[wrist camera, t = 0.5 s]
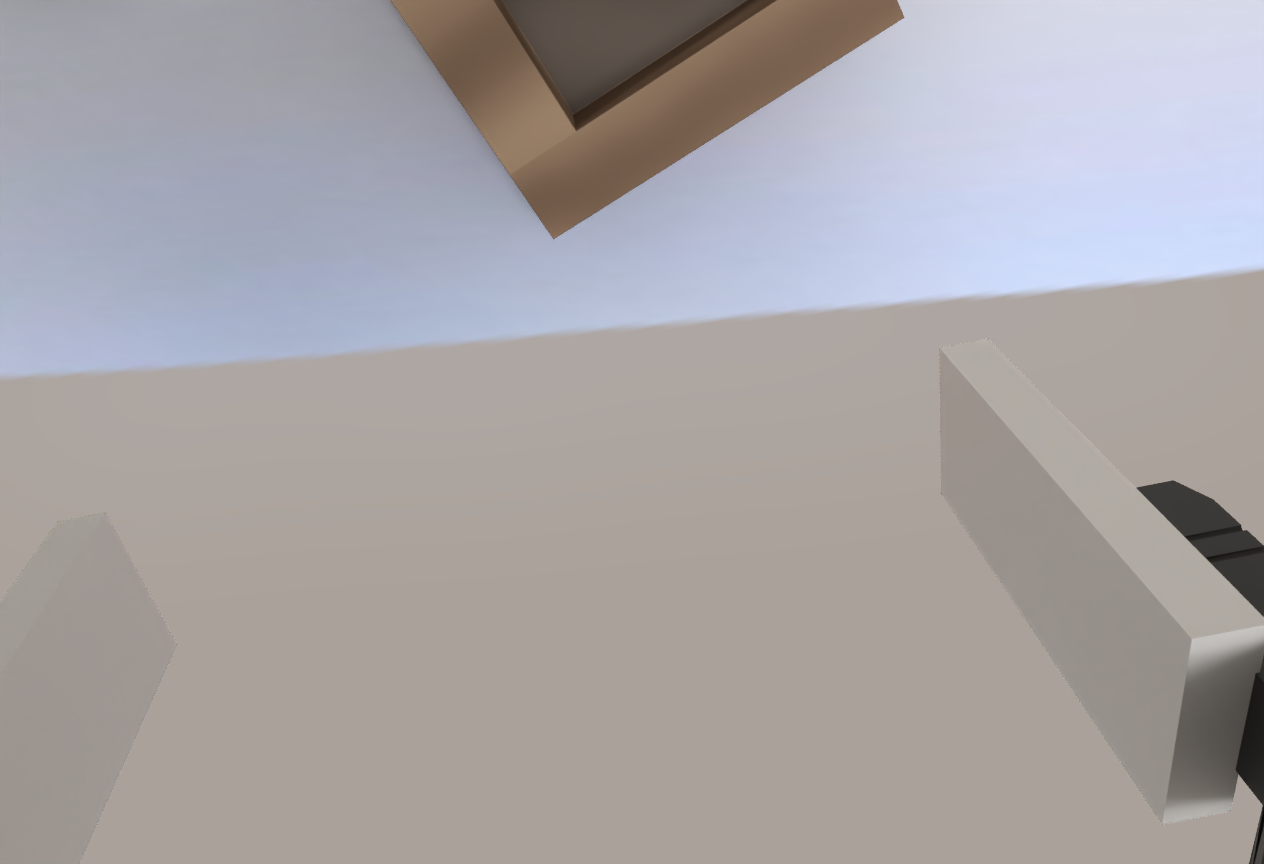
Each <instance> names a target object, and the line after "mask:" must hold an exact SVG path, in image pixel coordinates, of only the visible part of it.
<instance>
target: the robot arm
mask: <svg viewBox="0 0 1264 864" xmlns="http://www.w3.org/2000/svg"><path fill="white" fill-rule="evenodd" d="M939 352H940V353H939V354H940V433H941V434H940V435H941V436H940V437H941V494H942V496H943V497H944V499H945V500H946V502H947V503H948V505H949V506H950V508H951V509H952V511H953V512H954V514H955V515H956V516H957V518H958V520H959V521H960V522H961V524H962V525H963V527H964V529H965V530H966V532H967V533H968V535H969V536H970V537H971V539H972V541H973V542H974V544H975V545H976V546H977V548H978V550H979V551H980V553H981V554H982V556H983V557H984V559H985V560H986V562H987V563H988V565H989V566H990V567H991V569H992V570H993V572H994V573H995V575H996V577H997V578H998V579H999V581H1000V583H1001V584H1002V585H1003V587H1004V588H1005V590H1006V592H1007V593H1008V594H1009V596H1010V597H1011V599H1012V600H1013V602H1014V603H1015V605H1016V606H1017V608H1018V609H1019V611H1020V612H1021V614H1022V615H1023V617H1024V618H1025V620H1026V621H1027V623H1028V624H1029V626H1030V627H1031V628H1032V630H1033V632H1034V633H1035V635H1036V636H1037V638H1038V639H1039V641H1040V642H1041V644H1042V645H1043V647H1044V648H1045V650H1046V651H1047V653H1048V654H1049V656H1050V657H1051V659H1052V660H1053V662H1054V663H1055V665H1056V666H1057V668H1058V669H1059V671H1060V672H1061V674H1062V675H1063V677H1064V678H1065V680H1066V681H1067V683H1068V684H1069V686H1070V687H1071V689H1072V690H1073V692H1074V693H1075V695H1076V696H1077V698H1078V699H1079V701H1080V702H1081V704H1082V705H1083V707H1084V708H1085V710H1086V711H1087V713H1088V714H1089V716H1090V717H1091V719H1092V720H1093V722H1094V723H1095V724H1096V726H1097V727H1098V729H1099V731H1100V732H1101V734H1102V735H1103V737H1104V738H1105V740H1106V741H1107V743H1108V744H1109V746H1110V747H1111V748H1112V750H1113V752H1114V753H1115V755H1116V756H1117V758H1118V759H1119V761H1120V762H1121V764H1122V765H1123V767H1124V768H1125V770H1126V771H1127V772H1128V774H1129V775H1130V777H1131V779H1132V780H1133V782H1134V783H1135V785H1136V786H1137V788H1138V789H1139V791H1140V792H1141V794H1142V795H1143V797H1144V798H1145V800H1146V801H1147V803H1148V804H1149V806H1150V807H1151V808H1152V810H1153V812H1154V813H1155V815H1156V816H1157V818H1158V819H1159V820H1160V822H1161V823H1162V824H1168V823H1173V822H1178V821H1183V820H1188V819H1194V818H1198V817H1204V816H1209V815H1214V814H1219V813H1224V812H1229V811H1231V807H1232V802H1233V797H1234V793H1235V788H1236V783H1237V778H1238V774H1239V775H1240V777H1241V778H1242V779H1243V780H1244V782H1245V783H1246V784H1247V785H1248V786H1249V788H1250V789H1251V791H1252V792H1253V793H1254V794H1255V796H1256V797H1257V798H1258V799H1259V800H1260V802H1261V803H1262V805H1263V807H1262V811H1261V816H1260V820H1259V824H1258V828H1257V833H1256V838H1255V841H1254V845H1253V850H1252V854H1251V858H1250V862H1249V864H1264V545H1262V544H1261V543H1260V542H1259V541H1258V540H1257V539H1256V538H1255V537H1254V536H1253V535H1251V534H1250V533H1249V532H1248V531H1247V530H1245V531H1243V530H1242V528H1241V524H1239V523H1238V522H1237V521H1236V520H1235V519H1234V518H1233V517H1232V516H1231V515H1230V514H1229V513H1227V512H1226V511H1225V510H1224V509H1223V508H1222V507H1221V506H1220V505H1219V504H1218V503H1216V502H1215V501H1214V500H1213V499H1211V498H1209V497H1207V496H1205V495H1203V494H1201V493H1199V492H1196V491H1194V490H1192V489H1190V488H1188V487H1186V486H1184V485H1182V484H1180V483H1177V482H1175V481H1168V482H1163V483H1158V484H1153V485H1148V486H1143V487H1137V488H1136V487H1134V485H1133V484H1132V483H1131V482H1130V481H1129V480H1128V479H1127V478H1126V477H1125V476H1124V475H1123V474H1122V473H1121V472H1120V471H1119V470H1118V469H1117V468H1116V467H1115V466H1114V465H1113V464H1112V463H1111V462H1110V461H1109V460H1108V459H1107V458H1106V457H1105V456H1104V455H1103V454H1102V453H1101V452H1100V451H1099V450H1098V449H1097V448H1096V447H1095V446H1094V445H1093V444H1092V443H1091V442H1090V441H1089V440H1088V439H1087V438H1086V437H1085V436H1084V435H1083V434H1082V433H1081V432H1080V431H1079V430H1078V429H1077V428H1076V427H1075V426H1074V425H1073V424H1072V423H1071V422H1070V421H1069V420H1068V419H1067V418H1066V417H1065V416H1064V415H1063V414H1062V413H1061V412H1060V411H1059V410H1058V408H1057V407H1056V406H1055V405H1053V403H1052V402H1051V401H1049V399H1048V398H1047V397H1046V396H1044V394H1043V393H1042V392H1040V390H1039V389H1038V388H1037V387H1036V386H1035V385H1034V384H1033V383H1032V382H1031V381H1030V380H1029V379H1028V378H1027V377H1026V376H1025V375H1024V374H1023V373H1022V372H1021V371H1020V370H1019V369H1018V368H1017V367H1016V366H1015V365H1014V364H1013V363H1012V362H1011V361H1010V360H1009V359H1008V358H1007V357H1006V356H1005V355H1004V354H1003V353H1002V352H1001V351H1000V350H999V349H998V348H997V347H996V346H995V345H994V344H993V343H992V342H991V341H990V340H989V339H988V338H987V339H983V340H977V341H972V342H967V343H962V344H957V345H952V346H947V347H942V348H939ZM176 646H177V643H176V641H175V639H174V637H173V635H172V634H171V632H170V630H169V628H168V626H167V624H166V622H165V621H164V619H163V617H162V615H161V613H160V611H159V610H158V608H157V606H156V604H155V602H154V600H153V599H152V597H151V595H150V593H149V591H148V589H147V587H146V586H145V584H144V582H143V580H142V578H141V577H140V575H139V573H138V571H137V569H136V567H135V565H134V564H133V562H132V560H131V558H130V556H129V554H128V553H127V551H126V549H125V547H124V545H123V543H122V542H121V540H120V538H119V536H118V534H117V532H116V530H115V529H114V527H113V525H112V523H111V521H110V519H109V518H108V516H107V514H106V513H100V514H95V515H90V516H85V517H80V518H74V519H70V520H65V521H59V522H57V523H56V524H55V526H54V527H53V528H52V530H51V531H50V533H49V534H48V535H47V537H46V538H45V540H44V541H43V543H42V544H41V545H40V547H39V548H38V549H37V551H36V552H35V554H34V555H33V556H32V558H31V559H30V561H29V562H28V564H27V565H26V566H25V568H24V569H23V571H22V572H21V573H20V575H19V576H18V578H17V579H16V580H15V582H14V583H13V585H12V586H11V588H10V589H9V590H8V592H7V593H6V594H5V596H4V597H3V599H2V600H1V601H0V864H79V863H80V861H81V859H82V857H83V854H84V852H85V850H86V848H87V845H88V843H89V841H90V839H91V836H92V834H93V832H94V830H95V827H96V825H97V823H98V821H99V818H100V816H101V814H102V811H103V809H104V807H105V805H106V803H107V801H108V798H109V796H110V794H111V792H112V789H113V787H114V784H115V782H116V780H117V778H118V776H119V773H120V771H121V769H122V767H123V765H124V762H125V760H126V758H127V755H128V753H129V751H130V749H131V747H132V744H133V742H134V740H135V738H136V735H137V733H138V731H139V728H140V726H141V724H142V722H143V720H144V717H145V715H146V713H147V710H148V709H149V706H150V704H151V702H152V700H153V697H154V695H155V693H156V691H157V688H158V686H159V684H160V682H161V679H162V677H163V675H164V673H165V670H166V668H167V666H168V664H169V661H170V659H171V657H172V655H173V652H174V650H175V648H176Z"/></svg>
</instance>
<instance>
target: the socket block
mask: <svg viewBox="0 0 1264 864" xmlns="http://www.w3.org/2000/svg"><path fill="white" fill-rule="evenodd" d="M391 2H392V3H393V5H394V6H395V8H396V9H397V10H398V12H399V13H400V15H401V16H402V18H403V19H404V21H405V22H406V24H407V25H408V27H409V28H410V30H411V31H412V32H413V34H414V35H415V37H416V38H417V40H418V41H419V43H420V44H421V46H422V47H423V49H424V50H425V52H426V53H427V54H428V56H429V57H430V59H431V60H432V62H433V63H434V65H435V66H436V68H437V69H438V71H439V72H440V74H441V75H442V76H443V78H444V79H445V81H446V82H447V84H448V85H449V87H450V88H451V90H452V91H453V93H454V94H455V96H456V97H457V98H458V100H459V101H460V103H461V104H462V106H463V107H464V109H465V110H466V112H467V113H468V115H469V116H470V118H471V119H472V120H473V122H474V123H475V125H476V126H477V128H478V129H479V131H480V132H481V134H482V135H483V137H484V138H485V140H486V141H487V142H488V144H489V145H490V147H491V148H492V150H493V151H494V153H495V154H496V156H497V157H498V159H499V160H500V162H501V163H502V164H503V166H504V167H505V169H506V170H507V172H508V173H509V175H510V176H511V178H512V179H513V181H514V182H515V184H516V185H517V186H518V188H519V189H520V191H521V192H522V194H523V195H524V197H525V198H526V200H527V201H528V203H529V204H530V206H531V207H532V208H533V210H534V211H535V213H536V214H537V216H538V217H539V219H540V220H541V222H542V223H543V225H544V226H545V228H546V229H547V230H548V232H549V233H550V235H551V236H552V238H553V239H555V238H556V237H558V236H560V235H561V234H563V233H564V232H566V231H567V230H569V229H571V228H572V227H574V226H575V225H577V224H578V223H580V222H582V221H583V220H585V219H586V218H588V217H590V216H591V215H593V214H594V213H596V212H597V211H599V210H601V209H602V208H604V207H605V206H607V205H609V204H610V203H612V202H613V201H615V200H616V199H618V198H620V197H621V196H623V195H624V194H626V193H628V192H629V191H631V190H632V189H634V188H635V187H637V186H639V185H640V184H642V183H643V182H645V181H647V180H648V179H650V178H651V177H653V176H654V175H656V174H658V173H659V172H661V171H662V170H664V169H666V168H667V167H669V166H670V165H672V164H673V163H675V162H677V161H678V160H680V159H681V158H683V157H685V156H686V155H688V154H689V153H691V152H692V151H694V150H696V149H697V148H699V147H700V146H702V145H704V144H705V143H707V142H708V141H710V140H711V139H713V138H715V137H716V136H718V135H719V134H721V133H723V132H724V131H726V130H727V129H729V128H730V127H732V126H734V125H735V124H737V123H738V122H740V121H742V120H743V119H745V118H746V117H748V116H749V115H751V114H753V113H754V112H756V111H757V110H759V109H760V108H762V107H764V106H765V105H767V104H768V103H770V102H772V101H773V100H775V99H776V98H778V97H779V96H781V95H783V94H784V93H786V92H787V91H789V90H791V89H792V88H794V87H795V86H797V85H798V84H800V83H802V82H803V81H805V80H806V79H808V78H810V77H811V76H813V75H814V74H816V73H817V72H819V71H821V70H822V69H824V68H825V67H827V66H829V65H830V64H832V63H833V62H835V61H836V60H838V59H840V58H841V57H843V56H844V55H846V54H848V53H849V52H851V51H852V50H854V49H855V48H857V47H859V46H860V45H862V44H863V43H865V42H867V41H868V40H870V39H871V38H873V37H874V36H876V35H878V34H879V33H881V32H882V31H884V30H886V29H887V28H889V27H890V26H892V25H893V24H895V23H897V22H898V21H900V20H901V19H903V18H904V16H903V13H902V11H901V9H900V6H899V4H898V2H897V0H391Z"/></svg>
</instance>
